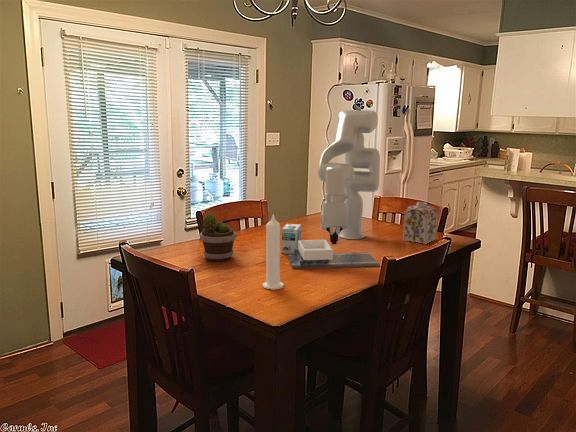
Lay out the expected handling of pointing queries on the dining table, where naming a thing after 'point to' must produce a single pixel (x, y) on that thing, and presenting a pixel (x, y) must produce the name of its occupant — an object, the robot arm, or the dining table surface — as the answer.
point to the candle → (273, 255)
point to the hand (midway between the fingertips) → (333, 243)
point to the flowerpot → (217, 239)
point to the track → (334, 261)
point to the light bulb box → (290, 238)
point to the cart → (315, 250)
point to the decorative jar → (420, 223)
